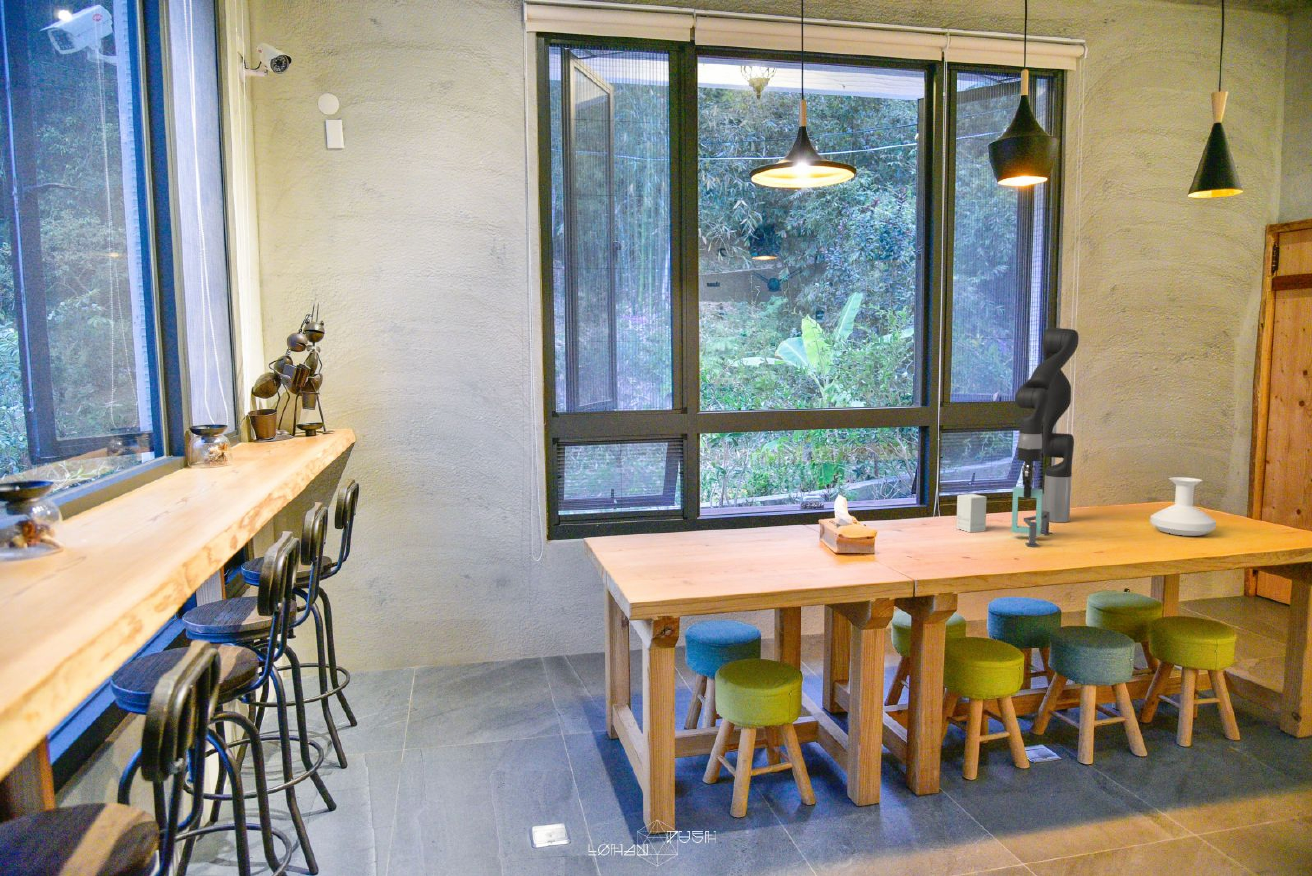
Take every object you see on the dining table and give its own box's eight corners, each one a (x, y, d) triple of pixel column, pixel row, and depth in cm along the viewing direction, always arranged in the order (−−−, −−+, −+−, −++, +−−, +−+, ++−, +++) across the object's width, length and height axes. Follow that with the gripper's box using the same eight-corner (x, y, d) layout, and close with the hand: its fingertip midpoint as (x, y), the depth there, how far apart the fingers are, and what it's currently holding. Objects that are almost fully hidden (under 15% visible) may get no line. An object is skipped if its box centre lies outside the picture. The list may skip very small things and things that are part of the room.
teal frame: (1012, 530, 307) (1014, 486, 305) (1041, 532, 303) (1043, 488, 301) (1011, 532, 304) (1012, 488, 302) (1039, 535, 299) (1041, 490, 298)
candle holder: (1136, 528, 320) (1139, 476, 318) (1181, 525, 325) (1184, 474, 323) (1182, 540, 301) (1186, 485, 299) (1229, 537, 306) (1232, 482, 304)
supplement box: (986, 531, 316) (987, 496, 314) (969, 533, 313) (971, 498, 312) (971, 527, 323) (973, 493, 321) (955, 529, 320) (956, 494, 319)
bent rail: (1014, 545, 294) (1015, 521, 293) (1030, 531, 316) (1031, 509, 315) (1038, 548, 290) (1039, 524, 289) (1053, 533, 312) (1054, 511, 311)
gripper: (1020, 443, 308) (1018, 492, 310) (1015, 448, 296) (1013, 498, 298) (1043, 445, 304) (1041, 494, 306) (1039, 449, 292) (1037, 500, 294)
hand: (1027, 496), depth 302 cm, fingers closed on teal frame, 1 cm apart
